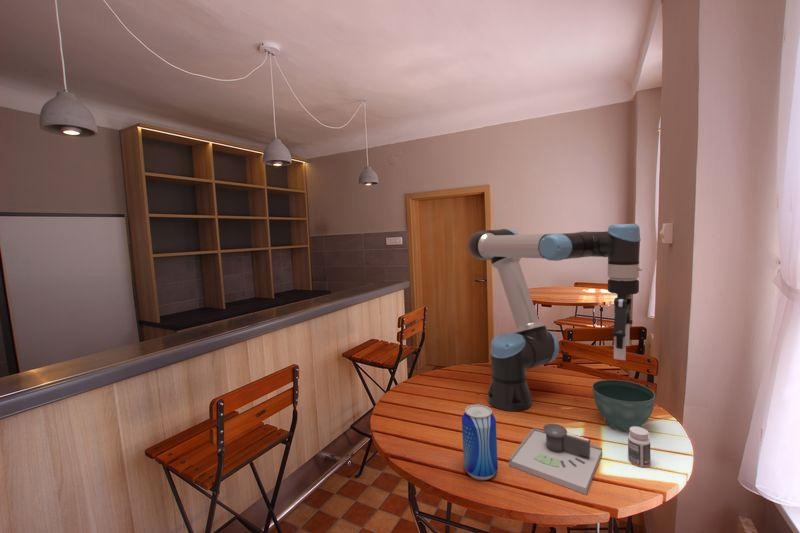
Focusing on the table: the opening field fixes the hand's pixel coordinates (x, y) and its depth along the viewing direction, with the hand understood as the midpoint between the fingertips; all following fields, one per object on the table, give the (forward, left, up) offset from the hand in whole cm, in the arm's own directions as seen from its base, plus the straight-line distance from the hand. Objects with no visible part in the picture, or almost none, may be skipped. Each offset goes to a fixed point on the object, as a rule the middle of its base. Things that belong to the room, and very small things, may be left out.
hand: (621, 351), depth 103 cm
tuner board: (-12, -25, -24) cm, 36 cm away
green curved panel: (-10, -26, -22) cm, 35 cm away
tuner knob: (-10, -22, -22) cm, 32 cm away
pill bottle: (+5, -14, -24) cm, 28 cm away
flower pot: (-1, +4, -24) cm, 25 cm away
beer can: (-26, -40, -24) cm, 53 cm away
